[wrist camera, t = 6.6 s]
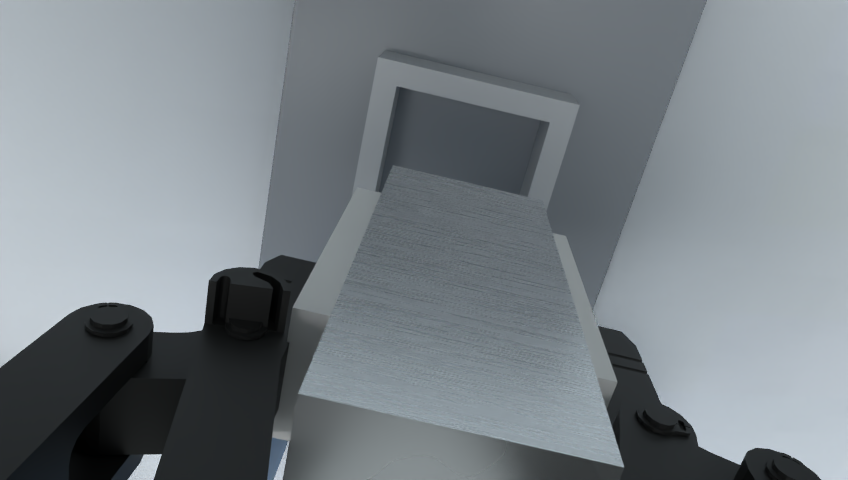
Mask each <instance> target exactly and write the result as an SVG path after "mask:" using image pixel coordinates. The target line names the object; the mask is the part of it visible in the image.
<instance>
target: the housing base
mask: <svg viewBox="0 0 848 480" xmlns="http://www.w3.org/2000/svg"><path fill="white" fill-rule="evenodd" d="M706 1H707V0H295V3H294V11H293V18H292V25H291V33H290V40H289V48H288V55H287V62H286V70H285V77H284V85H283V92H282V99H281V107H280V114H279V121H278V129H277V136H276V144H275V151H274V158H273V166H272V173H271V180H270V188H269V195H268V203H267V210H266V217H265V225H264V232H263V240H262V247H261V254H260V262H259V269H261V267H262V266H263V264H264V263H265V262H267V261H269V260H271V259H273V258H275V257H277V256H279V255H285V256H289V257H294V258H298V259H302V260H306V261H311V262H315V263H317V261H318V259H319V257H320V256H321V254H322V252H323V250H324V248H325V246H326V244H327V243H328V241H329V239H330V237H331V235H332V233H333V231H334V230H335V228H336V226H337V224H338V222H339V220H340V218H341V216H342V215H343V213H344V211H345V209H346V207H347V205H348V203H349V202H350V200H351V198H352V196H353V194H354V192H355V190H356V189H357V187H359V188H363V189H367V190H371V191H376V192H380V193H382V190H383V188H384V185H385V183H386V181H387V178H388V176H389V173H390V171H391V169H392V166H393V165H395V166H399V167H403V168H407V169H412V170H416V171H420V172H424V173H429V174H433V175H437V176H442V177H446V178H450V179H454V180H459V181H463V182H467V183H471V184H476V185H480V186H484V187H488V188H493V189H497V190H501V191H505V192H510V193H514V194H518V195H522V196H527V197H531V198H535V199H539V200H543V204H544V207H545V210H546V213H547V217H548V220H549V223H550V226H551V230H552V233H555V234H559V235H564V236H566V238H567V240H568V243H569V246H570V249H571V252H572V255H573V257H574V260H575V263H576V266H577V269H578V272H579V274H580V277H581V280H582V283H583V286H584V288H585V291H586V294H587V297H588V300H589V303H590V305H591V308H592V310H593V307H594V304H595V302H596V299H597V296H598V294H599V291H600V288H601V285H602V283H603V280H604V277H605V275H606V272H607V269H608V267H609V264H610V261H611V258H612V256H613V253H614V250H615V248H616V245H617V242H618V239H619V237H620V234H621V231H622V229H623V226H624V223H625V221H626V218H627V215H628V212H629V210H630V207H631V204H632V202H633V199H634V196H635V193H636V191H637V188H638V185H639V183H640V180H641V177H642V174H643V172H644V169H645V166H646V164H647V161H648V158H649V156H650V153H651V150H652V147H653V145H654V142H655V139H656V137H657V134H658V131H659V128H660V126H661V123H662V120H663V118H664V115H665V112H666V110H667V107H668V104H669V101H670V99H671V96H672V93H673V91H674V88H675V85H676V82H677V80H678V77H679V74H680V72H681V69H682V66H683V64H684V61H685V58H686V55H687V53H688V50H689V47H690V45H691V42H692V39H693V36H694V34H695V31H696V28H697V26H698V23H699V20H700V18H701V15H702V12H703V9H704V7H705V4H706Z"/></svg>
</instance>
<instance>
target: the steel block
mask: <svg viewBox="0 0 848 480" xmlns="http://www.w3.org/2000/svg"><path fill="white" fill-rule="evenodd" d="M623 470H624V465H623V461H622V458H621V455H620V451H619V448H618V445H617V442H616V438H615V435H614V432H613V429H612V425H611V422H610V419H609V416H608V412H607V409H606V406H605V403H604V399H603V396H602V393H601V389H600V386H599V383H598V380H597V376H596V373H595V370H594V367H593V363H592V360H591V357H590V354H589V350H588V347H587V344H586V341H585V337H584V334H583V331H582V328H581V324H580V321H579V318H578V314H577V311H576V308H575V305H574V301H573V298H572V295H571V292H570V288H569V285H568V282H567V279H566V275H565V272H564V269H563V266H562V262H561V259H560V256H559V252H558V249H557V246H556V243H555V239H554V236H553V233H552V230H551V226H550V223H549V220H548V217H547V213H546V210H545V207H544V204H543V200H539V199H535V198H531V197H527V196H522V195H518V194H514V193H510V192H505V191H501V190H497V189H493V188H488V187H484V186H480V185H476V184H471V183H467V182H463V181H459V180H454V179H450V178H446V177H442V176H437V175H433V174H429V173H424V172H420V171H416V170H412V169H407V168H403V167H399V166H395V165H393V166H392V169H391V171H390V173H389V176H388V178H387V181H386V183H385V185H384V188H383V190H382V193H381V195H380V197H379V200H378V202H377V205H376V207H375V209H374V212H373V214H372V217H371V219H370V222H369V224H368V226H367V229H366V231H365V234H364V236H363V238H362V241H361V243H360V246H359V248H358V250H357V253H356V255H355V258H354V260H353V262H352V265H351V267H350V270H349V272H348V275H347V277H346V279H345V282H344V284H343V287H342V289H341V291H340V294H339V296H338V299H337V301H336V303H335V306H334V308H333V311H332V313H331V315H330V318H329V320H328V323H327V325H326V327H325V330H324V332H323V335H322V337H321V340H320V342H319V344H318V347H317V349H316V352H315V354H314V356H313V359H312V361H311V364H310V366H309V368H308V371H307V373H306V376H305V378H304V380H303V383H302V385H301V388H300V390H299V393H298V397H297V403H296V408H295V414H294V419H293V425H292V431H291V436H290V442H289V448H288V453H287V459H286V464H285V470H284V476H283V480H619V479H620V477H621V474H622V472H623Z"/></svg>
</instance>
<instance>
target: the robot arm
mask: <svg viewBox="0 0 848 480" xmlns="http://www.w3.org/2000/svg"><path fill="white" fill-rule="evenodd" d="M380 195H381V193H380V192H376V191H371V190H367V189H363V188H359V187H357V189H356V190H355V192H354V194H353V196H352V198H351V200H350V202H349V203H348V205H347V207H346V209H345V211H344V213H343V215H342V216H341V218H340V220H339V222H338V224H337V226H336V228H335V230H334V231H333V233H332V235H331V237H330V239H329V241H328V243H327V244H326V246H325V248H324V250H323V252H322V254H321V256H320V257H319V259H318V261H317V263H315V262H311V261H306V260H302V259H298V258H294V257H289V256H285V255H279V256H277V257H275V258H273V259H271V260H269V261H267V262H265V263H264V264H263V266H262V267H261V269H257V268H243V267H238V268H231V269H225V270H223V271H220V272H218V273H216V274H214V275H213V277H212V278H211V279H210V280H209V285H208V295H207V304H206V314H205V323H204V327H203V330H202V331H196V332H189V333H166V332H153V328H154V325H153V321H152V317H151V316H149V315H148V314H147V313H146V312H145V311H144V310H142V309H139V308H136V307H134V306H131V305H126V304H119V303H98V304H94V305H90V306H86V307H82V308H80V309H78V310H76V311H74V312H72V313H70V314H69V315H67V316H66V317H65V318H63V319H62V320H61V321H60V322H58V323H57V324H56V325H54V326H53V327H52V328H51V329H49V330H48V331H47V332H45V333H44V334H43V335H42V336H40V337H39V338H38V339H37V340H35V341H34V342H33V343H31V344H30V345H29V346H28V347H26V348H25V349H24V350H22V351H21V352H20V353H19V354H17V355H16V356H15V357H13V358H12V359H11V360H10V361H8V362H7V363H6V364H4V365H3V366H2V367H1V368H0V480H127V479H128V478H129V477H130V475H131V474H132V473H133V471H134V470H135V469H136V467H137V466H138V465H139V463H140V462H141V459H142V457H143V455H144V454H162V456H161V459H160V462H159V465H158V468H157V471H156V474H155V477H154V480H267V477H268V468H269V459H270V451H271V442H272V438H277V439H281V440H286V441H290V436H291V431H292V425H293V419H294V414H295V408H296V403H297V397H298V393H299V390H300V388H301V385H302V383H303V380H304V378H305V376H306V373H307V371H308V368H309V366H310V364H311V361H312V359H313V356H314V354H315V352H316V349H317V347H318V344H319V342H320V340H321V337H322V335H323V332H324V330H325V327H326V325H327V323H328V320H329V318H330V315H331V313H332V311H333V308H334V306H335V303H336V301H337V299H338V296H339V294H340V291H341V289H342V287H343V284H344V282H345V279H346V277H347V275H348V272H349V270H350V267H351V265H352V262H353V260H354V258H355V255H356V253H357V250H358V248H359V246H360V243H361V241H362V238H363V236H364V234H365V231H366V229H367V226H368V224H369V222H370V219H371V217H372V214H373V212H374V209H375V207H376V205H377V202H378V200H379V197H380ZM553 236H554V239H555V243H556V246H557V249H558V252H559V256H560V259H561V262H562V266H563V269H564V272H565V275H566V279H567V282H568V285H569V288H570V292H571V295H572V298H573V301H574V305H575V308H576V311H577V314H578V318H579V321H580V324H581V328H582V331H583V334H584V337H585V341H586V344H587V347H588V350H589V354H590V357H591V360H592V363H593V367H594V370H595V373H596V376H597V380H598V383H599V386H600V389H601V393H602V396H603V399H604V403H605V406H606V409H607V412H608V416H609V419H610V422H611V425H612V429H613V432H614V435H615V438H616V442H617V445H618V448H619V451H620V455H621V458H622V461H623V465H624V470H623V472H622V474H621V477H620V479H619V480H821V479H820V478H819V477H818V476H817V475H816V474H815V473H814V472H813V471H811V470H810V469H809V468H807V467H806V466H805V465H803V463H802V462H800V461H799V460H797V459H795V458H791V456H789V455H787V454H784V453H780V452H777V451H774V450H770V449H762V448H755V449H752V450H750V451H748V452H747V453H746V455H745V457H744V459H743V461H742V463H741V465H738V464H736V463H734V462H731V461H729V460H727V459H724V458H722V457H720V456H717V455H715V454H713V453H710V452H708V451H706V450H704V449H702V448H700V447H698V442H697V437H696V434H695V432H694V430H693V428H692V426H691V425H690V424H689V423H688V422H687V421H686V420H685V419H684V418H683V417H682V416H681V415H680V414H678V413H677V412H675V411H674V410H672V409H671V408H669V407H667V406H664V405H662V404H661V402H660V400H659V398H658V395H657V393H656V391H655V389H654V386H653V384H652V382H651V379H650V377H649V375H648V374H647V370H646V368H645V366H644V363H642V359H641V357H640V354H639V352H638V350H637V347H636V346H635V345H634V344H633V343H632V342H631V341H630V340H629V339H628V338H627V337H626V336H625V335H624V334H623V333H622V332H621V331H616V330H612V329H608V328H604V327H599V326H598V325H597V322H596V320H595V317H594V314H593V311H592V308H591V305H590V303H589V300H588V297H587V294H586V291H585V288H584V286H583V283H582V280H581V277H580V274H579V272H578V269H577V266H576V263H575V260H574V257H573V255H572V252H571V249H570V246H569V243H568V240H567V238H566V236H564V235H559V234H555V233H553Z"/></svg>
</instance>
